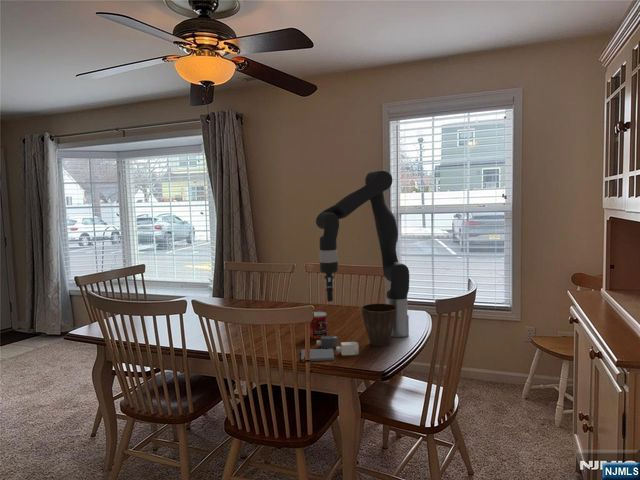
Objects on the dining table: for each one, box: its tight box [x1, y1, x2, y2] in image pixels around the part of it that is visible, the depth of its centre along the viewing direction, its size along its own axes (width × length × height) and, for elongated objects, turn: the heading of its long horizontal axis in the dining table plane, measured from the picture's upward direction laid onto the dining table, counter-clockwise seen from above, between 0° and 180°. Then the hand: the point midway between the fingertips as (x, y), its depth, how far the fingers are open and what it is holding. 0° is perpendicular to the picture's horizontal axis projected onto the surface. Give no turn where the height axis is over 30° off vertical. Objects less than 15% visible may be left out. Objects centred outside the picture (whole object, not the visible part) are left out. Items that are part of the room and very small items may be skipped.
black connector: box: [316, 335, 339, 349], centre depth 191 cm, size 9×4×4 cm, turn 91°
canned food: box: [309, 311, 328, 341], centre depth 205 cm, size 8×8×11 cm
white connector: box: [335, 341, 360, 356], centre depth 183 cm, size 9×4×4 cm, turn 91°
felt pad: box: [300, 348, 335, 362], centre depth 181 cm, size 13×11×1 cm
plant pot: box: [361, 303, 397, 347], centre depth 193 cm, size 15×15×16 cm
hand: (329, 298), depth 188 cm, fingers open, 8 cm apart
